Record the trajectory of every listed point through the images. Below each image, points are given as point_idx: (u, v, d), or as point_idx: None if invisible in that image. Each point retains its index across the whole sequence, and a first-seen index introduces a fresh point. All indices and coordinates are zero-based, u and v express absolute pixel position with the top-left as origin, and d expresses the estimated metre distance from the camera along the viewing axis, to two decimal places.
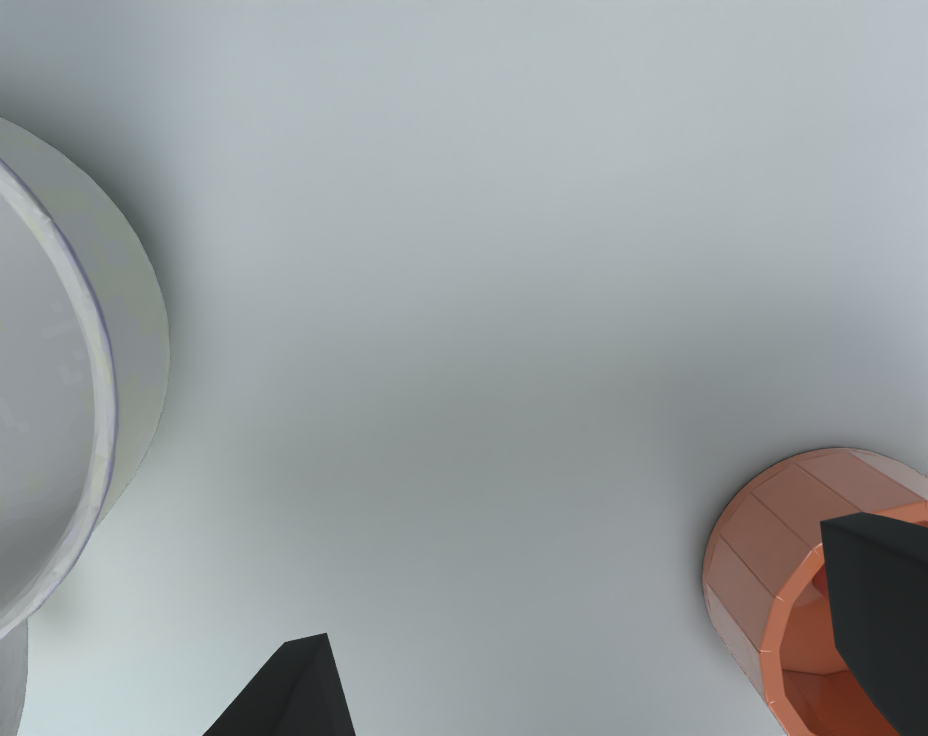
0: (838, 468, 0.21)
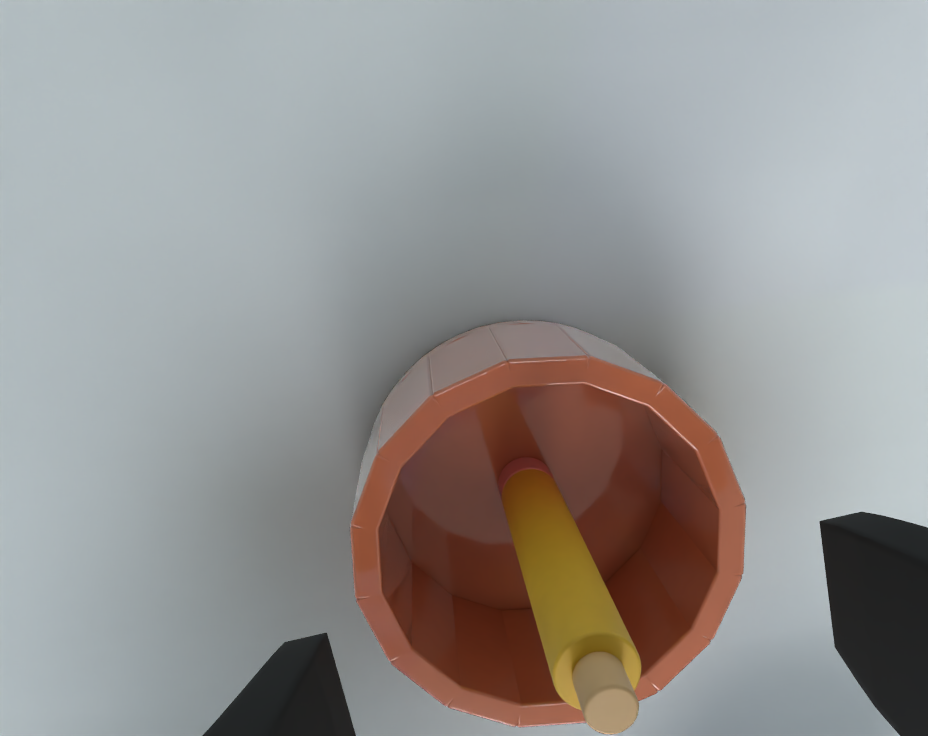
0: (528, 331, 0.16)
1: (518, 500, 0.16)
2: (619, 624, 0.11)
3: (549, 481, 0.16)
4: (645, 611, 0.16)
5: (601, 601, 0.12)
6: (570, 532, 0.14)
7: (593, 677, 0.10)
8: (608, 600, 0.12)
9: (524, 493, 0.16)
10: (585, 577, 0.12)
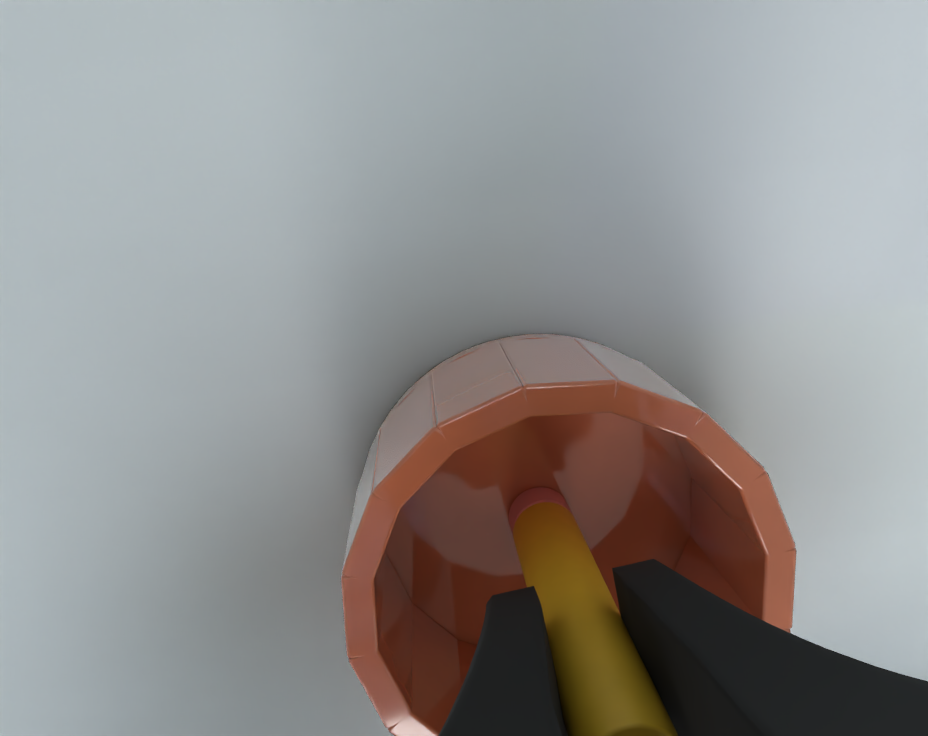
0: (544, 348, 0.14)
1: (533, 540, 0.14)
2: (660, 711, 0.09)
3: (567, 517, 0.15)
4: None
5: (637, 679, 0.10)
6: (595, 584, 0.12)
7: None
8: (645, 676, 0.10)
9: (540, 532, 0.14)
10: (616, 645, 0.10)
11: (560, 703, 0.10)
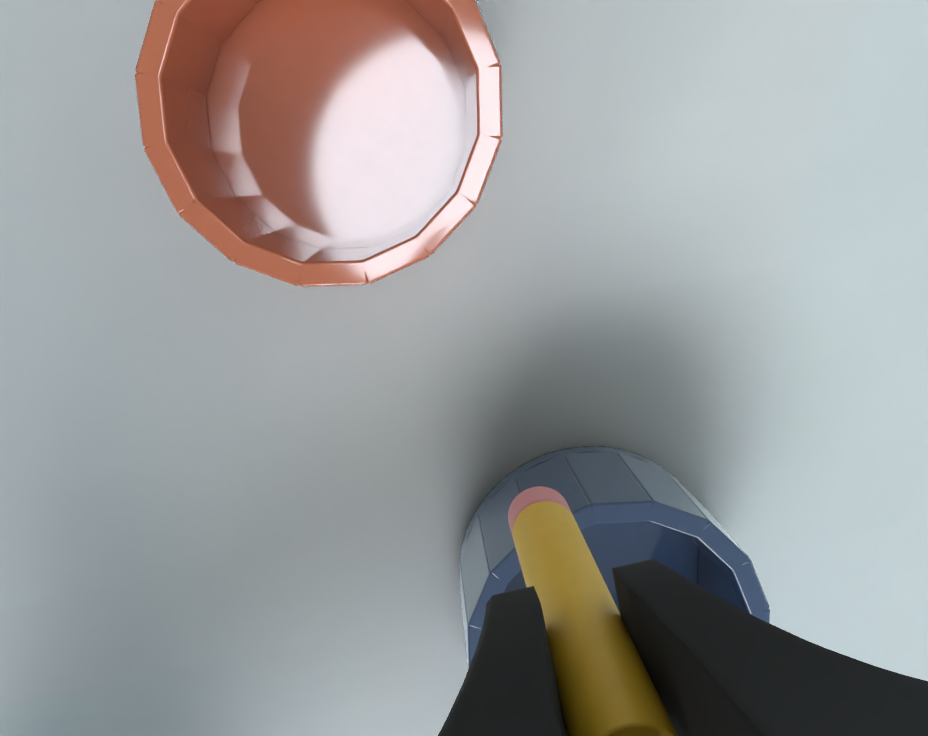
0: None
1: (532, 540, 0.14)
2: (659, 709, 0.09)
3: (567, 516, 0.15)
4: (434, 211, 0.18)
5: (636, 678, 0.10)
6: (594, 583, 0.12)
7: None
8: (644, 675, 0.10)
9: (539, 531, 0.14)
10: (615, 644, 0.10)
11: None
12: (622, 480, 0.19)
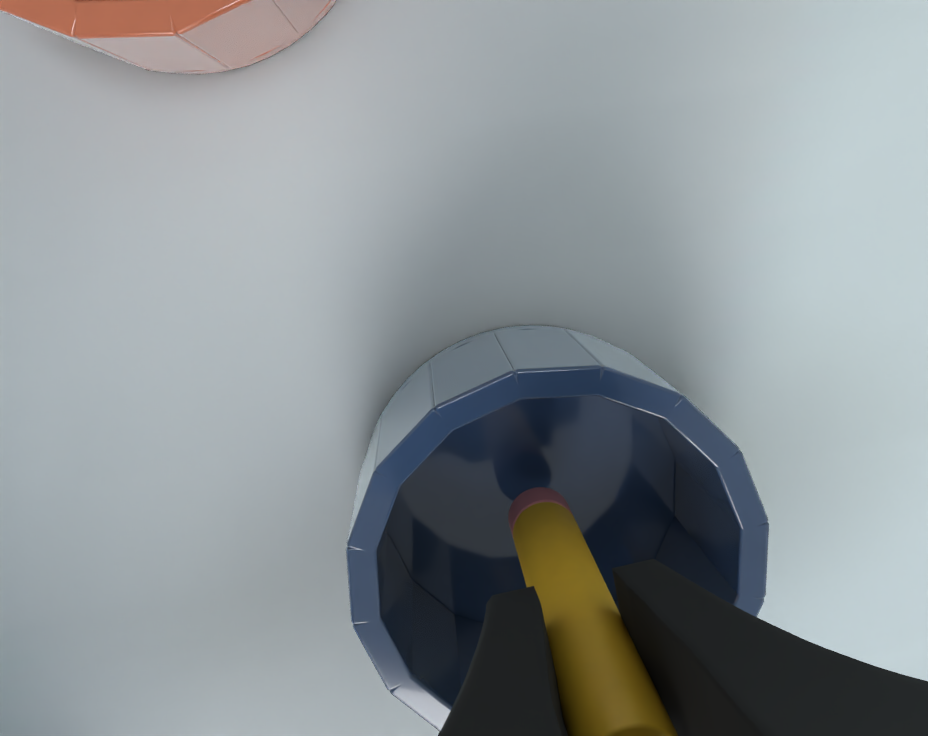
0: None
1: (533, 540, 0.14)
2: (660, 711, 0.09)
3: (567, 517, 0.15)
4: None
5: (637, 679, 0.10)
6: (595, 584, 0.12)
7: None
8: (645, 676, 0.10)
9: (539, 532, 0.14)
10: (616, 645, 0.10)
11: (560, 703, 0.10)
12: (564, 349, 0.14)
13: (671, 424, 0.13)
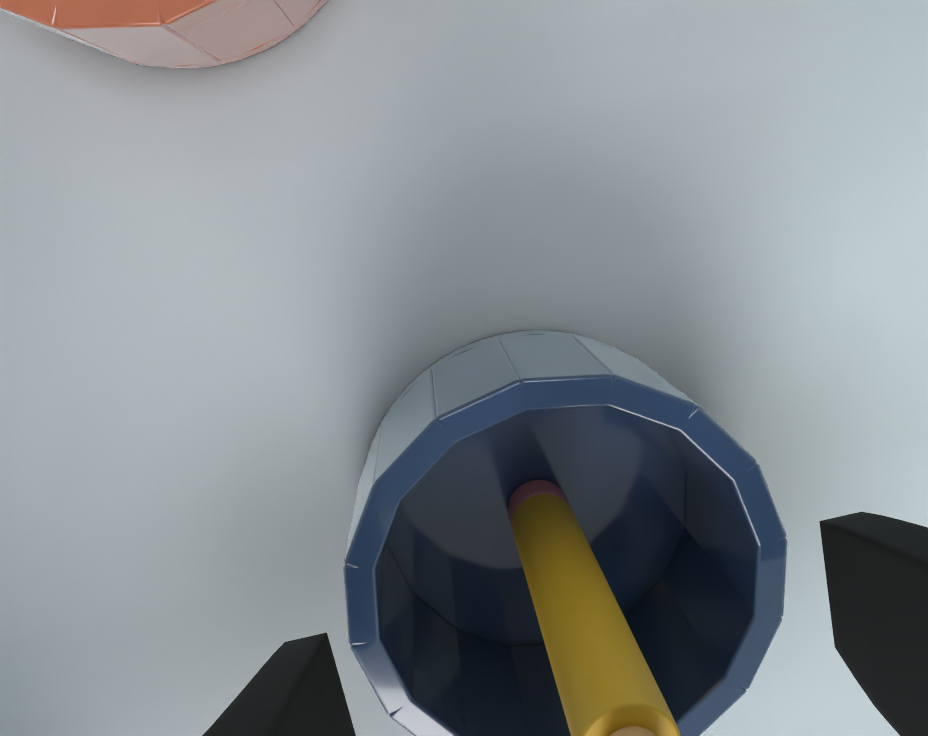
0: None
1: (531, 531, 0.14)
2: (654, 691, 0.10)
3: (565, 508, 0.15)
4: None
5: (632, 661, 0.10)
6: (591, 572, 0.12)
7: None
8: (639, 659, 0.10)
9: (538, 523, 0.14)
10: (612, 630, 0.11)
11: None
12: (572, 356, 0.13)
13: (685, 436, 0.12)
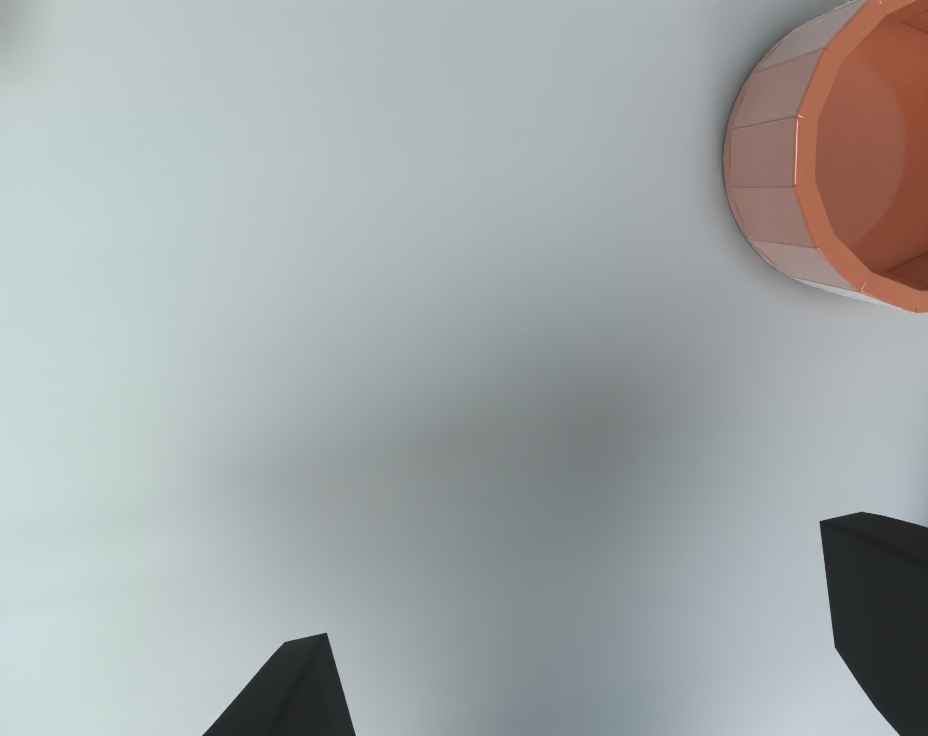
0: None
1: None
2: None
3: None
4: None
5: None
6: None
7: None
8: None
9: None
10: None
11: None
12: None
13: None
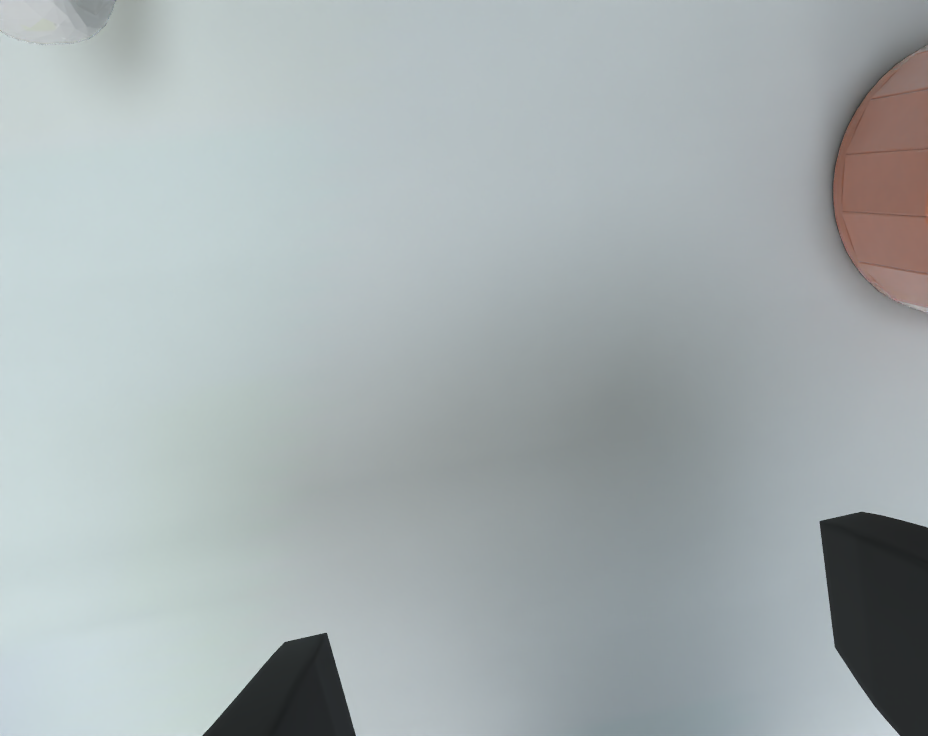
0: None
1: None
2: None
3: None
4: None
5: None
6: None
7: None
8: None
9: None
10: None
11: None
12: None
13: None
